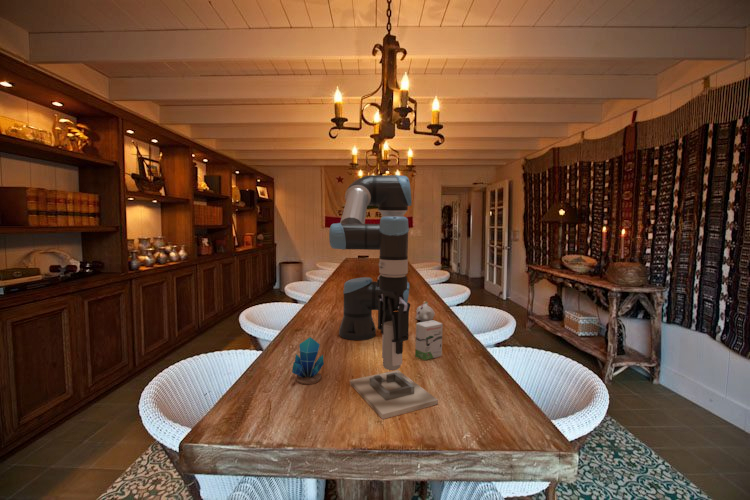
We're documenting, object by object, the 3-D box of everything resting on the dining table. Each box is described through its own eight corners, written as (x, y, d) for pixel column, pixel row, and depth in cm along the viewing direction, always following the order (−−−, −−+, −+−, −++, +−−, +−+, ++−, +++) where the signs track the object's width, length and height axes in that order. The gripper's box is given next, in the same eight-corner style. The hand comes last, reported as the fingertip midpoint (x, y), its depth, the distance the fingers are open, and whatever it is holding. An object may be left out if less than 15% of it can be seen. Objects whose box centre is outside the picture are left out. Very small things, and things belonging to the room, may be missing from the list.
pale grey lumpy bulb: (420, 297, 173) (426, 301, 158) (434, 306, 173) (441, 310, 158) (410, 314, 172) (415, 319, 157) (424, 323, 172) (430, 328, 157)
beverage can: (381, 363, 96) (382, 321, 95) (399, 363, 96) (400, 320, 96) (383, 371, 91) (384, 326, 90) (402, 370, 92) (402, 325, 91)
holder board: (349, 384, 100) (349, 373, 100) (398, 373, 107) (398, 363, 107) (382, 419, 82) (382, 406, 82) (437, 404, 89) (438, 392, 89)
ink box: (424, 361, 117) (424, 326, 116) (414, 356, 121) (415, 323, 120) (442, 355, 122) (443, 322, 121) (432, 351, 126) (433, 319, 125)
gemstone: (296, 373, 106) (296, 335, 105) (324, 374, 106) (324, 335, 105) (289, 384, 99) (289, 343, 98) (320, 385, 99) (320, 344, 98)
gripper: (366, 271, 98) (365, 352, 100) (398, 280, 82) (396, 376, 84) (389, 270, 102) (388, 348, 103) (424, 279, 86) (422, 371, 87)
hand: (391, 360), depth 94 cm, fingers closed on beverage can, 5 cm apart
